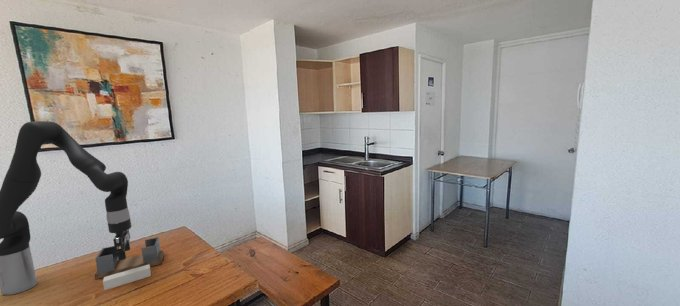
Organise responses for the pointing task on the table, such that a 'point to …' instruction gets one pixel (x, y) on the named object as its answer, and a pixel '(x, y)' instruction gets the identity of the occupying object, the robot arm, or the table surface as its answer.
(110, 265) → the grey boxes
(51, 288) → the table surface
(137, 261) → the plank
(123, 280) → the block
